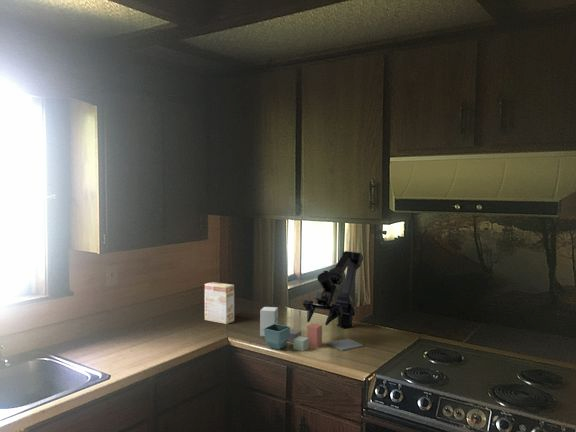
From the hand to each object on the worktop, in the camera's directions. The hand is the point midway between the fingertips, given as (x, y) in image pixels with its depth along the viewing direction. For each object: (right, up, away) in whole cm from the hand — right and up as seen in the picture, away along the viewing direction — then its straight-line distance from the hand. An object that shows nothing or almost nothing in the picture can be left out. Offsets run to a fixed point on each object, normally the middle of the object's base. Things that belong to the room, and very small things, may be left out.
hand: (316, 323), depth 226 cm
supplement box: (-22, -9, +14) cm, 28 cm away
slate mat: (+13, -10, -1) cm, 16 cm away
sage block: (-7, -10, -6) cm, 14 cm away
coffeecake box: (-49, -7, +37) cm, 62 cm away
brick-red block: (-1, -10, -1) cm, 10 cm away
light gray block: (-11, -9, +4) cm, 15 cm away
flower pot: (-18, -10, -4) cm, 21 cm away
